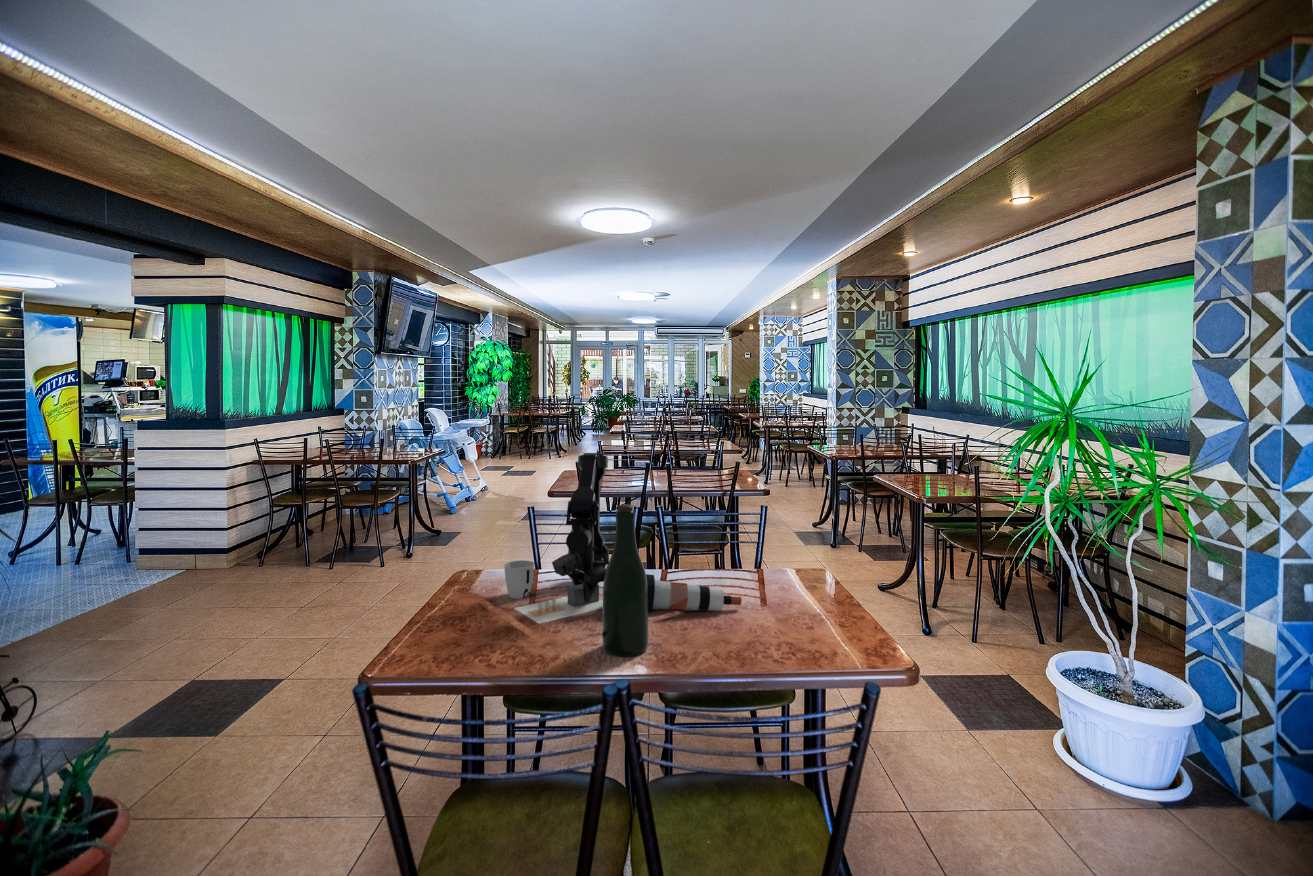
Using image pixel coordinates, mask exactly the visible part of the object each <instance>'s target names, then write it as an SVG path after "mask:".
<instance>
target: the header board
mask: <svg viewBox="0 0 1313 876" xmlns="http://www.w3.org/2000/svg"><path fill="white" fill-rule="evenodd" d="M513 609H514V610H516V611H518V612H519V613H520V614H522V615H523V616H526V617H527V618H529V619H531V620H532V621H533V622H536V623H537V624H538V625H539V624H544V623H547V622H551V621H556V620H560V619H564V618H568V617H572V616H576V615H582V614H584V613H589V612H593V611H594V612H595V611H597V610H601V609H602V610H603V599H600V598H599V601H598V602H593V603H589V604H585V605H580V606H576V607H573V606H571V605H569V604H568V595H566V596H563V597H558V598H555V599H554V598H553V599H549V600H545V601H541V602H536V603H531V604H527V605H523V606H518V607H514V608H513Z"/></svg>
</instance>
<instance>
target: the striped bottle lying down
mask: <svg viewBox="0 0 1313 876" xmlns="http://www.w3.org/2000/svg"><path fill="white" fill-rule="evenodd" d="M646 577H647V588H648V613H652V612H653V610H668V611H669V610H670V611H675V610H677V611H684V612H685V611H686V610H687V611H706V612H707V611H709V612H711V611H712V612H722V611H723V608H724V605H728V606H731V605H732V606H733V605H734V606H741V605H742V597H741V596H734V595H733V596H731V595H725V594H724V589H723V588H722V587H713V586H709V585H708V586H706V585H704V586H703V585H699V584H688V583H687V582H676V581H675V582H673V581H664V580H663V581H662V580H661V579H660V580H658V579H655V575H654V574H648V573H646Z"/></svg>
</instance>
